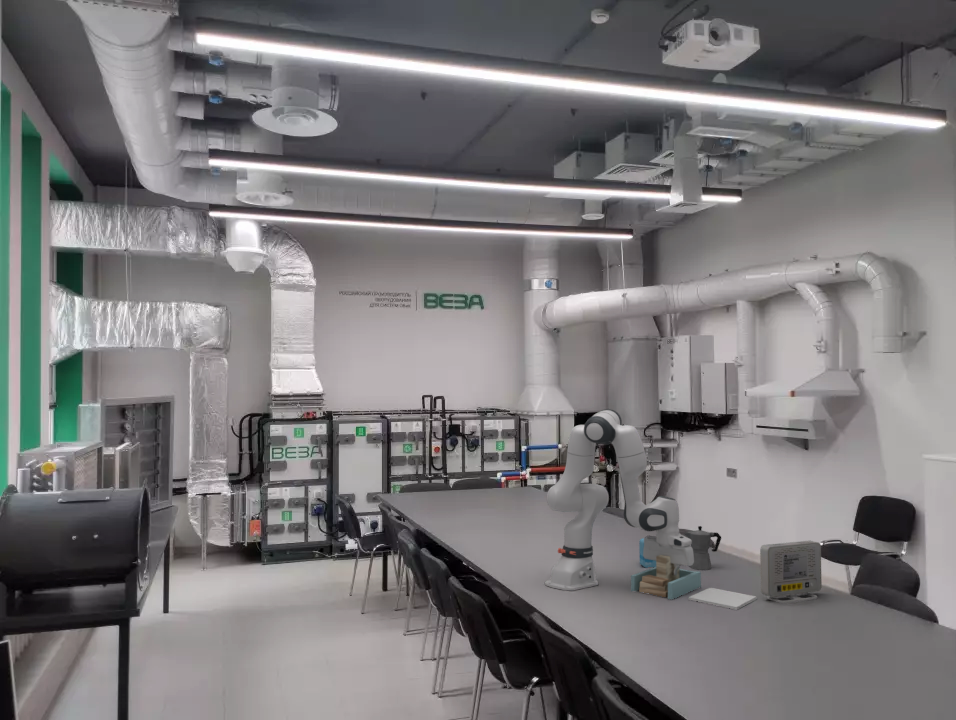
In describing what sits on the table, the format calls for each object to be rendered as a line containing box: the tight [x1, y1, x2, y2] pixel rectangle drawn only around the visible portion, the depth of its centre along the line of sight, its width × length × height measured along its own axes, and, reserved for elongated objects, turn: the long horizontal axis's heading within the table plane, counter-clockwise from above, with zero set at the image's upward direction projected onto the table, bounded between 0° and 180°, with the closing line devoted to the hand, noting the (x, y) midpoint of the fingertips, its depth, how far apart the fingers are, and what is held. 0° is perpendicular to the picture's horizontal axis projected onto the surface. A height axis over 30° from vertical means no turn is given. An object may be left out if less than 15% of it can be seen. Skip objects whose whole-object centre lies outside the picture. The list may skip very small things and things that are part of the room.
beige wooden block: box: [656, 555, 680, 582], centre depth 280 cm, size 11×4×13 cm, turn 137°
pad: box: [688, 587, 757, 611], centre depth 265 cm, size 18×18×1 cm
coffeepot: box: [683, 525, 722, 571], centre depth 314 cm, size 15×9×18 cm, turn 72°
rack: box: [630, 567, 702, 601], centre depth 279 cm, size 24×17×6 cm
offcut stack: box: [638, 575, 669, 598], centre depth 273 cm, size 5×11×6 cm, turn 47°
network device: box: [759, 540, 823, 604], centre depth 268 cm, size 26×9×20 cm, turn 111°
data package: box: [638, 537, 656, 569], centre depth 316 cm, size 12×4×12 cm, turn 99°
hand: (668, 574), depth 280 cm, fingers closed on beige wooden block, 4 cm apart
